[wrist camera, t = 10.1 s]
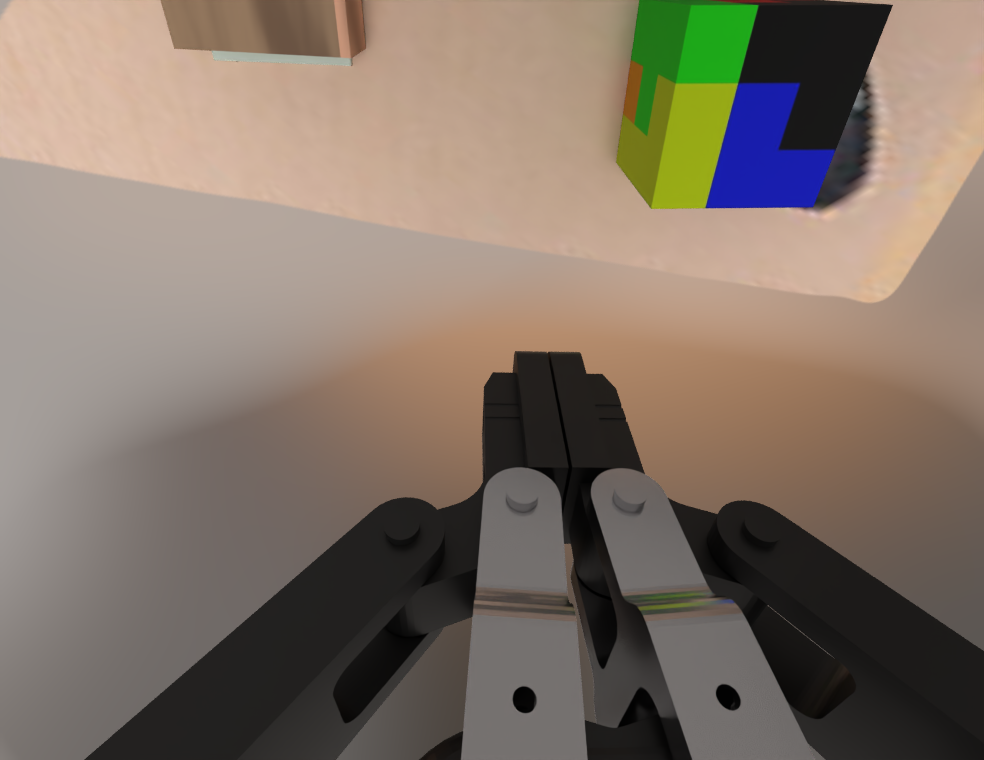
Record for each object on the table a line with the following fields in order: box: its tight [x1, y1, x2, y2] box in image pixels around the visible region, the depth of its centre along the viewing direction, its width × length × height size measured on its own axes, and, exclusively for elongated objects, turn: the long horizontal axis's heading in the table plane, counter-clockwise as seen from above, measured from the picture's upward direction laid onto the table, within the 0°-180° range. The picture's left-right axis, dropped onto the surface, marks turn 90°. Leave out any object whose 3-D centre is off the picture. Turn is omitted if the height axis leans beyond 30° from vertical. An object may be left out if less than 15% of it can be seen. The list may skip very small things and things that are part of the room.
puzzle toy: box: [616, 0, 893, 209], centre depth 32 cm, size 10×10×10 cm
